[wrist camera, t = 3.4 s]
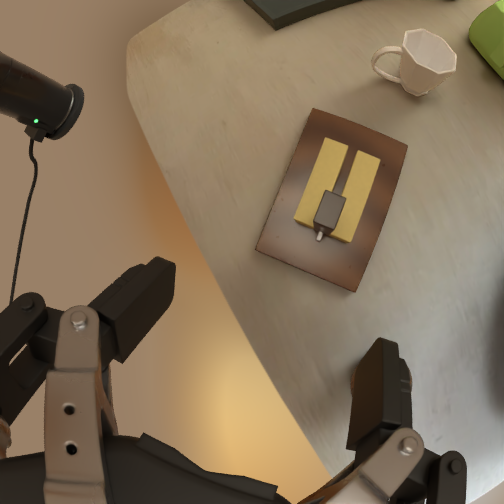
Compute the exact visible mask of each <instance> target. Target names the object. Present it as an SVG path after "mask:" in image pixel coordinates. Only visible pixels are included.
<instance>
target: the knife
mask: <svg viewBox="0 0 504 504" xmlns="http://www.w3.org/2000/svg"><path fill="white" fill-rule="evenodd" d="M345 202H346V198H345V197H343V196H340V195H338V194H336V193H333V192H331V191H328V190H325V191H324V194H323V196H322V199H321V202H320V204H319V207H318V209H317V212H316V214H315V217H314V219H313V225H314V230H317V231H319V234H318V236H317V239H316V241H318V242H320V240H321V238H322V235H323V233H324V234H326V235H330V234H331V233H332V232H333V231H334V230H335V228H336V225H337V223H338V220H339V217H340V215H341V212H342V210H343V207H344V204H345Z"/></svg>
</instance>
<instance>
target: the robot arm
mask: <svg viewBox="0 0 504 504" xmlns="http://www.w3.org/2000/svg"><path fill="white" fill-rule="evenodd" d="M74 103H75V93H74V91H73V90H71V89H70V88H67V87H65V86H63V85H61V84H59V83H58V82H56V81H54V80H52V79H50V78H48V77H47V76H45V75H43V74H41V73H39V72H38V71H36V70H34V69H32V68H30V67H28V66H26V65H24V64H22V63H20V62H18V61H16V60H14V59H13V58H11V57H9V56H7V55H5V54H3V53H2V52H0V113H1V114H4V115H7V116H9V117H12V118H15V119H16V120H17V121H18V122H20V123H23V124H25V125H27V127H26V129H25V131H24V132H25V133H26V134H27V135H28V136H30V137H31V139H30V146H29V156H30V159H31V161H32V162H33V163H34V178H33V182H32V186H31V189H30V192H29V196H28V200H27V204H26V209H25V214H24V220H23V224H22V229H21V234H20V240H19V245H18V251H17V257H16V264H15V269H14V276H13V282H12V290H11V296H10V303H9V306H8V307H7V308H5V310H3V311H2V312H1V313H0V504H291V503H290V502H289V501H288V500H287V499H285V498H284V497H282V496H281V495H279V494H278V493H276V491H277V488H278V486H276V485H273V484H269V483H265V482H262V481H259V480H255V479H252V478H249V477H245V476H239V475H229V474H222V473H215V472H209V471H205V470H203V469H202V468H200V467H199V466H198V465H196V464H195V463H193V462H192V461H191V460H189V459H188V458H187V457H185V456H184V455H183V454H181V453H180V452H179V451H177V450H176V449H175V448H173V447H171V446H169V445H167V444H165V443H163V442H161V441H159V440H157V439H155V438H153V437H151V436H149V435H147V434H145V433H143V434H142V435H141V437H140V438H137V437H132V436H122V435H118V428H117V423H116V419H115V415H114V409H113V399H112V386H111V370H110V362H111V361H112V360H113V359H115V360H117V361H118V362H120V363H122V364H123V363H124V361H125V360H126V359H127V358H128V356H129V355H130V354H131V353H132V351H133V350H134V349H135V348H136V346H137V345H138V344H139V343H140V341H141V340H142V339H143V338H144V337H145V336H146V334H147V333H148V332H149V331H150V329H151V328H152V327H153V326H154V325H155V323H156V322H157V321H158V320H159V319H160V317H161V316H162V315H163V314H164V312H165V311H166V310H167V309H168V308H169V306H170V304H171V302H172V300H173V296H174V287H175V286H174V285H175V272H176V265H175V263H173V262H171V261H168V260H165V259H163V258H161V257H158V256H157V257H155V258H153V259H152V260H151V261H150V262H149V263H148V264H147V265H144V264H139V265H136V266H134V267H132V268H129V269H128V270H127V271H126V272H124V273H123V274H122V275H121V277H119V278H118V279H116V280H115V281H114V283H113V284H111V285H110V286H108V287H107V288H106V289H105V290H104V291H103V292H102V293H101V294H99V296H97V297H96V298H95V299H94V300H93V301H92V302H91V303H90V304H89V305H88V306H81V305H80V306H74V307H71V308H69V309H68V310H66V311H61V310H57V309H53V308H50V307H46V304H45V301H44V299H43V297H42V296H41V295H39V294H38V293H34V292H29V293H25V294H22V295H21V296H19V297H18V298H16V299H15V300H14V301H13V297H14V291H15V285H16V278H17V272H18V266H19V260H20V254H21V248H22V242H23V237H24V232H25V227H26V222H27V217H28V212H29V207H30V202H31V198H32V194H33V191H34V188H35V185H36V181H37V175H38V164H37V161H36V159H35V158H34V156H33V144H34V140H35V141H38V142H42V141H43V139H44V137H45V135H46V133H49V134H52V135H55V133H56V131H57V130H58V129H59V128H60V127H61V126H62V125H63V124H64V123H65V122H66V120H67V119H68V117H69V116H70V114H71V112H72V109H73V106H74ZM25 344H26V345H27V346H26V347H25V348H24V350H23V351H22V352H21V353H20V354H19V355H18V356H17V357H16V359H15V360H14V361H13V362H12V363H11V364H10V365H9V362H10V361H11V359H12V358H13V357H14V356H15V354H16V353H17V352H18V351H19V350H20V349H21V348H22V347H23V346H24V345H25ZM45 379H46V387H45V404H44V405H45V406H44V444H45V445H44V446H45V447H44V448H45V451H44V452H39V453H34V454H28V455H22V456H15V457H9V458H6V449H7V448H9V447H10V446H11V443H12V442H11V438H10V436H11V432H10V428H9V427H10V425H11V424H12V423H13V421H14V420H15V419H16V417H17V416H18V414H19V413H20V412H21V410H22V409H23V408H24V406H25V405H26V404H27V402H28V401H29V400H30V398H31V397H32V396H33V394H34V393H35V392H36V390H37V389H38V388H39V387H40V385H41V384H42V383H43V381H44V380H45ZM410 392H411V386H410V373H409V369H408V367H407V365H406V363H405V360H404V359H402V358H399V350H398V344H397V343H396V342H393V341H390V340H387V339H384V338H380V337H379V338H377V339H376V341H375V342H374V343H373V345H372V346H371V348H370V349H369V350H368V352H367V353H366V354H365V356H364V357H363V359H362V360H361V361H360V363H359V364H358V367H357V369H356V372H355V377H354V388H353V398H352V407H351V416H350V424H349V432H348V439H347V445H346V449H348V450H353V451H356V454H355V460H353V461H352V462H351V463H350V464H349V465H348V466H347V467H345V468H344V469H343V470H342V471H341V472H340V473H338V474H337V475H336V476H335V477H334V478H333V479H331V480H330V481H329V482H328V483H326V484H325V485H324V486H323V487H321V488H320V489H319V490H317V491H316V492H314V493H313V494H311V495H309V496H308V497H306V498H305V499H303V500H302V501H300V502H298V503H297V504H424V502H425V499H426V498H427V500H426V504H465V501H466V482H467V465H466V461H465V459H464V457H463V456H462V455H461V454H460V453H459V452H457V451H448V452H446V453H445V454H443V455H442V456H440V455H438V454H436V453H434V452H432V451H430V450H428V449H426V448H424V443H423V440H422V438H421V436H420V435H419V434H418V433H417V432H416V431H415V430H413V428H412V401H411V394H410ZM389 498H390V499H389ZM388 500H389V501H388Z"/></svg>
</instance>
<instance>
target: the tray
mask: <svg viewBox="0 0 504 504" xmlns="http://www.w3.org/2000/svg"><path fill="white" fill-rule="evenodd" d="M244 1H245V2H246V3H247V4H248V5H249V6H251V7H252V8H253V9H254V10H255V11H256V12H257V13H258V14H259V15H260V16H261V17H262V18H263V19H264V20H266V21H267V22H268V23H269V24H270V25H271V26H272V27H273V28H274V29H275V30H278V29H280V28H283V27H285V26H288V25H290V24H292V23H295V22H297V21H300V20H303V19H305V18H308V17H311V16H313V15H316V14H319V13H322V12H325V11H328V10H331V9H334V8H337V7H340V6H344V5H347V4H350V3H354V2H358V1H361V0H244Z"/></svg>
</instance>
